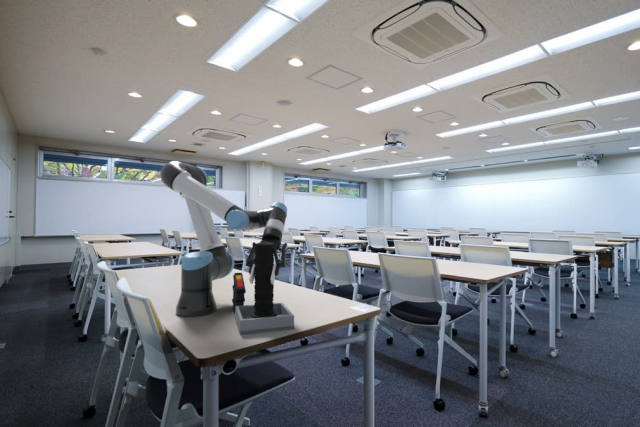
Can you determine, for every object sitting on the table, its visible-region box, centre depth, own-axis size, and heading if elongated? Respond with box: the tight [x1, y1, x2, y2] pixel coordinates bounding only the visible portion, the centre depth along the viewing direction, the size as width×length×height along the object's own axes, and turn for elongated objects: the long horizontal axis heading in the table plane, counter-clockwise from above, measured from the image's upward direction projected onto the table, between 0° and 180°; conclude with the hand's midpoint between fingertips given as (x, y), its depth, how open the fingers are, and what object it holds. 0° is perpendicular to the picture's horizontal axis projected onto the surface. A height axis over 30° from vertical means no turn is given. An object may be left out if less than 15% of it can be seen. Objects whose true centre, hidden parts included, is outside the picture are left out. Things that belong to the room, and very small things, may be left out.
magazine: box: [231, 272, 247, 312], centre depth 130 cm, size 4×13×15 cm, turn 21°
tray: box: [234, 302, 295, 335], centre depth 114 cm, size 18×18×4 cm
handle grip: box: [250, 241, 278, 318], centre depth 115 cm, size 10×26×10 cm
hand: (261, 281), depth 111 cm, fingers closed on handle grip, 7 cm apart
